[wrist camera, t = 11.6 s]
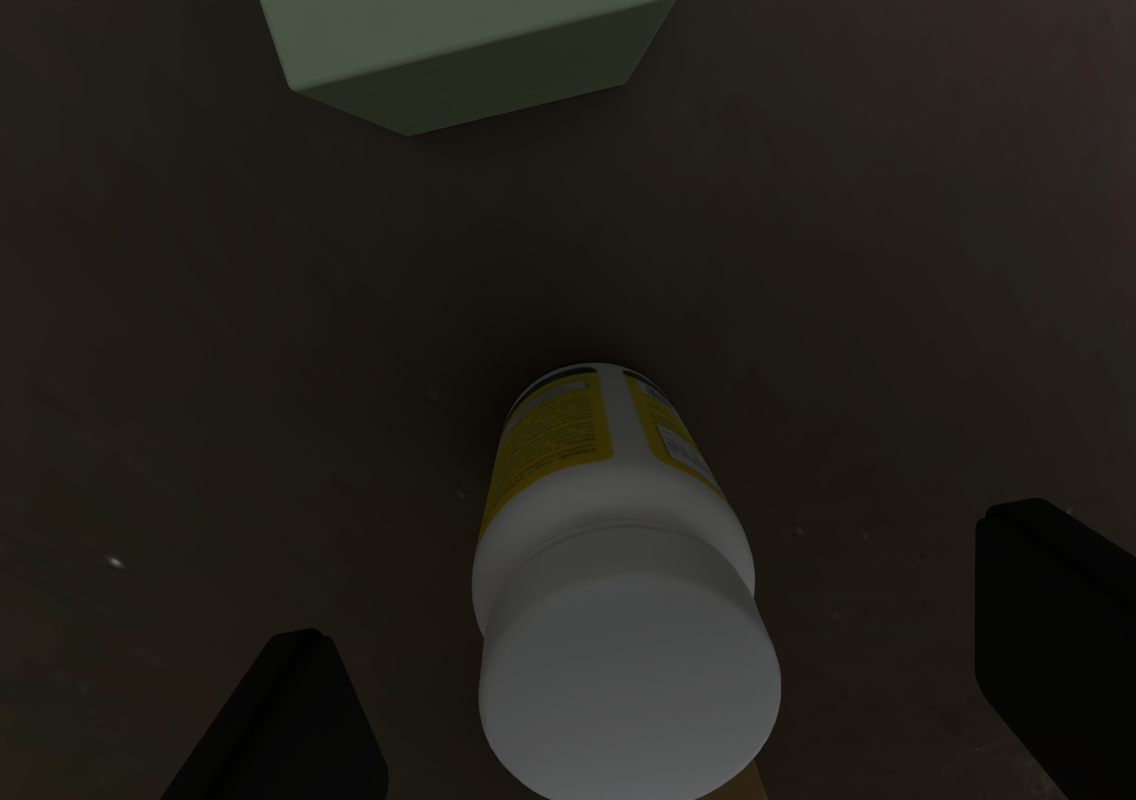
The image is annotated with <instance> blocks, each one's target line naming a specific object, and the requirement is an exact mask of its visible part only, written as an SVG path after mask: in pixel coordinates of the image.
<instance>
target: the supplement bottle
mask: <svg viewBox="0 0 1136 800" xmlns="http://www.w3.org/2000/svg"><path fill="white" fill-rule="evenodd" d="M754 589H755V572H754V565H753V559H752V554H751V551H750V547H749V544H748V541H747V538H746V535H745V533H744V530H743V528H742V526H741V524H740V522H739V520H738V518H737V516H736V514H735V513H734V511H733V510H732V508H731V506H730V505H729V503H728V501H727V500H726V498H725V496H724V494H723V492H722V491H721V489H720V487H719V485H718V484H717V482H716V480H715V478H714V477H713V475H712V473H711V471H710V470H709V468H708V466H707V464H706V462H705V461H704V459H703V457H702V455H701V453H700V452H699V450H698V448H697V446H696V444H695V443H694V441H693V439H692V438H691V436H690V434H689V432H688V431H687V429H686V427H685V425H684V424H683V422H682V420H681V418H680V417H679V415H678V413H677V411H676V409H675V408H674V406H673V405H672V403H671V402H670V400H669V399H668V398H667V396H666V395H665V394H664V393H663V392H662V390H661V389H660V388H659V387H657V386H656V385H655V384H654V383H653V382H652V381H650V380H649V379H647V378H646V377H644V376H643V375H641V374H639V373H637V372H635V371H633V370H630V369H628V368H625V367H622V366H618V365H614V364H608V363H581V364H575V365H570V366H566V367H563V368H559V369H557V370H554V371H552V372H550V373H548V374H546V375H544V376H543V377H541V378H539V379H538V380H536V381H535V382H534V383H532V384H531V385H530V386H529V387H528V388H527V389H526V390H525V391H524V392H523V393H522V394H521V395H520V396H519V398H518V399H517V400H516V402H515V403H514V405H513V407H512V408H511V410H510V412H509V414H508V416H507V418H506V421H505V423H504V426H503V430H502V433H501V437H500V441H499V447H498V451H497V456H496V461H495V465H494V470H493V475H492V479H491V484H490V489H489V493H488V497H487V502H486V507H485V511H484V516H483V520H482V525H481V529H480V534H479V538H478V543H477V547H476V552H475V558H474V564H473V572H472V599H473V606H474V611H475V615H476V619H477V623H478V625H479V628H480V630H481V632H482V634H483V636H484V648H483V655H482V665H481V674H480V683H479V711H480V716H481V722H482V725H483V729H484V733H485V735H486V737H487V740H488V742H489V744H490V746H491V748H492V749H493V751H494V753H495V754H496V756H497V757H498V759H499V760H500V761H501V763H502V764H503V765H504V766H505V767H506V768H507V769H508V770H509V771H510V772H511V773H512V775H514V776H515V777H516V778H517V779H519V780H520V781H521V782H522V783H523V784H524V785H526V786H527V787H528V788H530V789H531V790H533V791H535V792H536V793H538V794H540V795H542V796H544V797H546V798H548V799H551V800H695V799H697V798H699V797H701V796H703V795H705V794H707V793H709V792H711V791H713V790H715V789H717V788H718V787H720V786H721V785H723V784H724V783H725V782H727V781H729V780H730V779H732V778H733V777H734V776H735V775H737V774H738V773H739V772H740V771H741V770H743V769H744V768H745V767H746V766H747V765H748V763H749V762H750V761H751V760H752V759H753V758H754V757H755V756H756V755H757V753H758V752H759V751H760V749H761V748H762V746H763V745H764V743H765V742H766V740H767V739H768V737H769V735H770V733H771V730H772V728H773V725H774V723H775V721H776V718H777V714H778V710H779V704H780V698H781V675H780V669H779V663H778V660H777V657H776V653H775V650H774V647H773V645H772V642H771V640H770V638H769V635H768V633H767V631H766V629H765V626H764V624H763V622H762V619H761V617H760V615H759V612H758V610H757V607H756V604H755V601H754V599H753V597H754Z"/></svg>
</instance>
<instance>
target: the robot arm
mask: <svg viewBox="0 0 1136 800" xmlns="http://www.w3.org/2000/svg"><path fill="white" fill-rule="evenodd" d="M975 675H976V679H977V682H978V685H979V687H980V689H981V691H982V693H983V695H984V696H985V698H986V699H987V701H988V702H989V703H990V704H991V706H992V707H993V708H994V709H995V711H996V712H997V713H998V714H999V715H1000V717H1001V718H1002V719H1003V720H1004V721H1005V723H1006V724H1007V725H1008V726H1009V728H1010V729H1011V730H1012V731H1013V732H1014V734H1015V735H1016V736H1017V737H1018V738H1019V740H1020V741H1021V742H1022V743H1023V745H1024V746H1025V747H1026V748H1027V749H1028V751H1029V752H1030V753H1031V754H1032V755H1033V757H1034V758H1035V759H1036V760H1037V762H1038V763H1039V764H1040V765H1041V766H1042V768H1043V769H1044V770H1045V771H1046V772H1047V774H1048V775H1049V776H1050V777H1051V779H1052V780H1053V781H1054V782H1055V783H1056V785H1057V786H1058V787H1059V788H1060V789H1061V791H1062V792H1063V793H1064V794H1065V796H1066V797H1067V798H1068V799H1069V800H1136V557H1134V556H1133V555H1131V554H1130V553H1128V552H1126V551H1125V550H1123V549H1122V548H1120V547H1119V546H1117V545H1115V544H1114V543H1112V542H1111V541H1109V540H1108V539H1106V538H1105V537H1103V536H1101V535H1100V534H1098V533H1097V532H1095V531H1094V530H1092V529H1090V528H1089V527H1087V526H1086V525H1084V524H1083V523H1081V522H1080V521H1078V520H1076V519H1075V518H1073V517H1072V516H1070V515H1069V514H1067V513H1065V512H1064V511H1062V510H1061V509H1059V508H1058V507H1056V506H1055V505H1053V504H1051V503H1050V502H1048V501H1046V500H1044V499H1042V498H1031V499H1026V500H1020V501H1015V502H1009V503H1003V504H998V505H993V506H991V507H990V508H989V509H988V511H987V512H986V517H985V518H982V519H980V520H978V522H977V524H976V552H975ZM387 789H388V769H387V765H386V762H385V760H384V758H383V755H382V753H381V751H380V748H379V746H378V744H377V741H376V739H375V737H374V734H373V732H372V730H371V727H370V725H369V723H368V720H367V718H366V716H365V713H364V711H363V709H362V706H361V704H360V702H359V699H358V697H357V695H356V692H355V690H354V688H353V685H352V683H351V681H350V678H349V676H348V674H347V671H346V669H345V667H344V664H343V662H342V660H341V657H340V655H339V653H338V650H337V648H336V646H335V643H334V642H333V640H332V639H331V638H330V637H329V636H323V635H322V634H321V632H320V631H318V630H317V629H314V628H310V629H304V630H299V631H293V632H287V633H282V634H277V635H275V636H273V637H272V638H271V639H270V640H269V641H268V642H267V644H266V645H265V647H264V648H263V650H262V651H261V653H260V654H259V656H258V657H257V658H256V660H255V661H254V663H253V664H252V666H251V667H250V669H249V670H248V672H247V673H246V674H245V676H244V677H243V679H242V680H241V682H240V683H239V685H238V686H237V688H236V689H235V690H234V692H233V693H232V695H231V696H230V698H229V699H228V701H227V702H226V704H225V705H224V706H223V708H222V709H221V711H220V712H219V714H218V715H217V717H216V718H215V720H214V721H213V722H212V724H211V725H210V727H209V728H208V730H207V731H206V733H205V734H204V736H203V737H202V738H201V740H200V741H199V743H198V744H197V746H196V747H195V749H194V750H193V752H192V753H191V754H190V756H189V757H188V759H187V760H186V762H185V763H184V765H183V766H182V768H181V769H180V770H179V772H178V773H177V775H176V776H175V778H174V779H173V781H172V782H171V784H170V785H169V786H168V788H167V789H166V791H165V792H164V794H163V795H162V797H161V798H160V800H385V797H386V794H387Z"/></svg>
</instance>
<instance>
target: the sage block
mask: <svg viewBox="0 0 1136 800" xmlns="http://www.w3.org/2000/svg"><path fill="white" fill-rule="evenodd" d="M675 1H676V0H260V3H261V6H262V9H263V12H264V15H265V18H266V21H267V24H268V27H269V30H270V33H271V36H272V39H273V42H274V44H275V47H276V50H277V53H278V56H279V59H280V62H281V65H282V68H283V71H284V74H285V77H286V80H287V83H288V86H289V87H290V88H291V90H292V91H294V92H297V93H299V94H302V95H304V96H307V97H309V98H312V99H314V100H317V101H319V102H322V103H324V104H327V105H329V106H332V107H334V108H337V109H339V110H342V111H344V112H347V113H349V114H352V115H354V116H357V117H359V118H362V119H364V120H367V121H370V122H372V123H375V124H377V125H380V126H382V127H385V128H387V129H390V130H392V131H395V132H397V133H400V134H402V135H405V136H413V135H417V134H421V133H425V132H429V131H433V130H438V129H442V128H446V127H450V126H454V125H458V124H462V123H466V122H471V121H475V120H479V119H483V118H487V117H491V116H495V115H500V114H504V113H508V112H512V111H516V110H520V109H524V108H528V107H533V106H537V105H541V104H545V103H549V102H553V101H557V100H562V99H566V98H570V97H574V96H578V95H582V94H586V93H591V92H595V91H599V90H603V89H607V88H611V87H615V86H619V85H624V84H625V83H626V82H627V81H628V79H629V77H630V76H631V74H632V72H633V71H634V69H635V67H636V66H637V64H638V62H639V61H640V59H641V57H642V56H643V54H644V52H645V51H646V49H647V47H648V46H649V44H650V42H651V41H652V39H653V37H654V36H655V34H656V32H657V31H658V29H659V27H660V26H661V24H662V22H663V21H664V19H665V17H666V16H667V14H668V12H669V11H670V9H671V7H672V6H673V4H674V2H675Z"/></svg>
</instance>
